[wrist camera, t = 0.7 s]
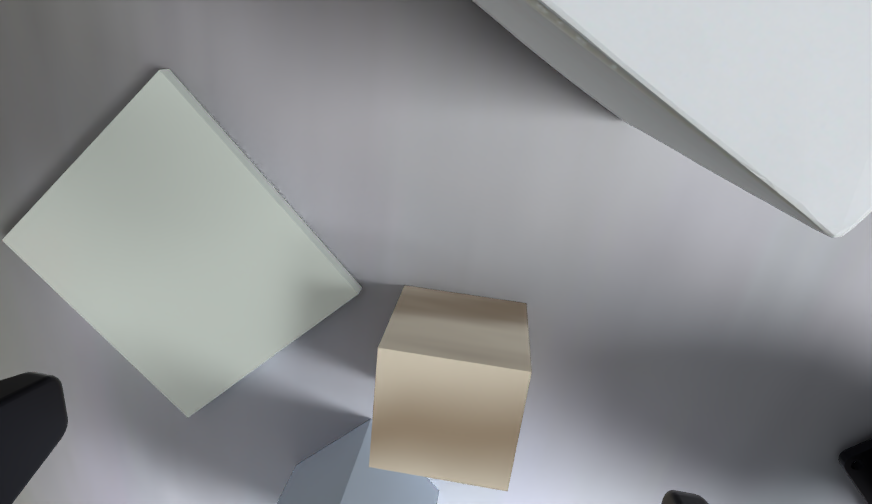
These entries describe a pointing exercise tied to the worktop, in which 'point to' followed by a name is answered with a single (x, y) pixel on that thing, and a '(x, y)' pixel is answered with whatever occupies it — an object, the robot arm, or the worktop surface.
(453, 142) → the worktop surface
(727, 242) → the worktop surface
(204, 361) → the sage tile
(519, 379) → the beige cube
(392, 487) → the blue gray block
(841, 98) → the supplement box
